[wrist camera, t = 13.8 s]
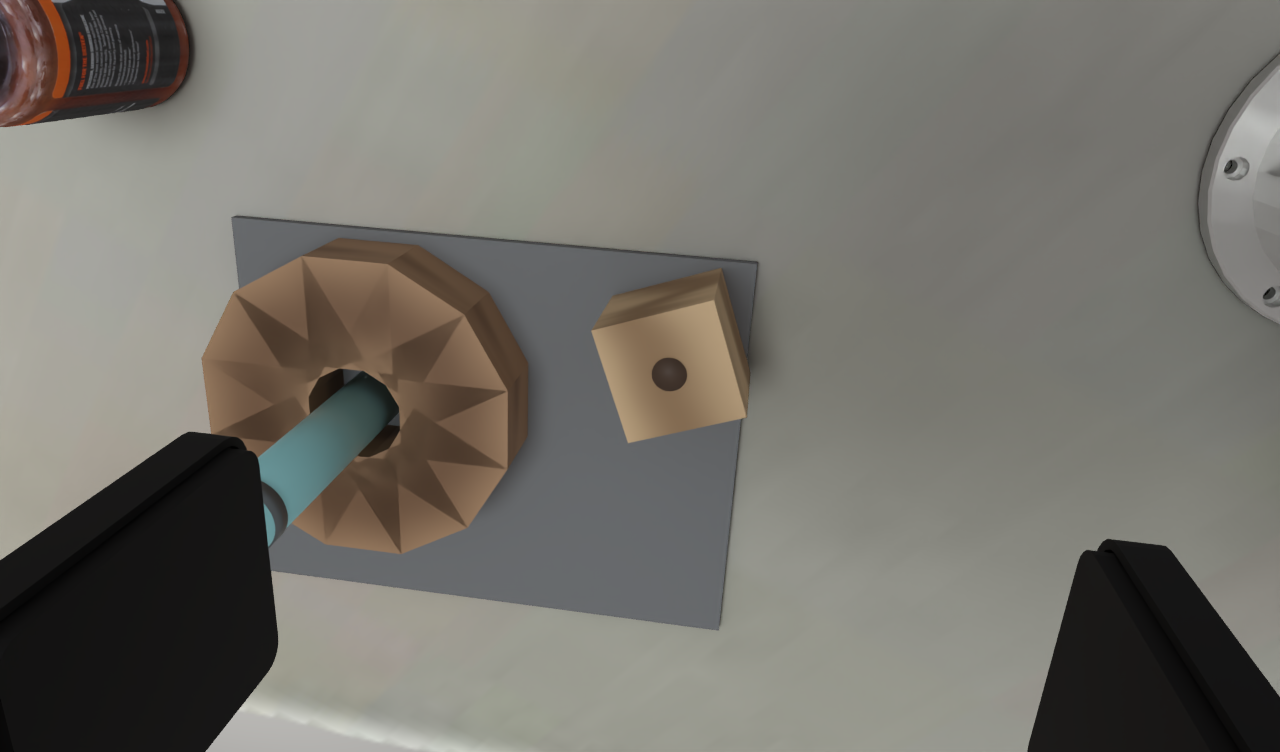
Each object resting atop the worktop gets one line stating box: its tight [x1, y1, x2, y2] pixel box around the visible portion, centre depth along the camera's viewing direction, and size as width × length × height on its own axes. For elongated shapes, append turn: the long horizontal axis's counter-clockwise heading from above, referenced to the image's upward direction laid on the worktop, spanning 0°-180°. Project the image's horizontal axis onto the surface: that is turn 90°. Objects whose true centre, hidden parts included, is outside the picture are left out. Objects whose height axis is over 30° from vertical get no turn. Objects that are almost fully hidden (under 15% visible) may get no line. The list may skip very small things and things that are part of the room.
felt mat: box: [231, 216, 757, 630], centre depth 44 cm, size 24×19×1 cm
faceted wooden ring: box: [202, 238, 528, 554], centre depth 42 cm, size 14×14×4 cm
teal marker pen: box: [258, 371, 399, 549], centre depth 37 cm, size 3×3×14 cm
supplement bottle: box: [0, 0, 189, 127], centre depth 35 cm, size 6×6×11 cm
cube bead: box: [591, 268, 750, 443], centre depth 38 cm, size 5×5×5 cm
